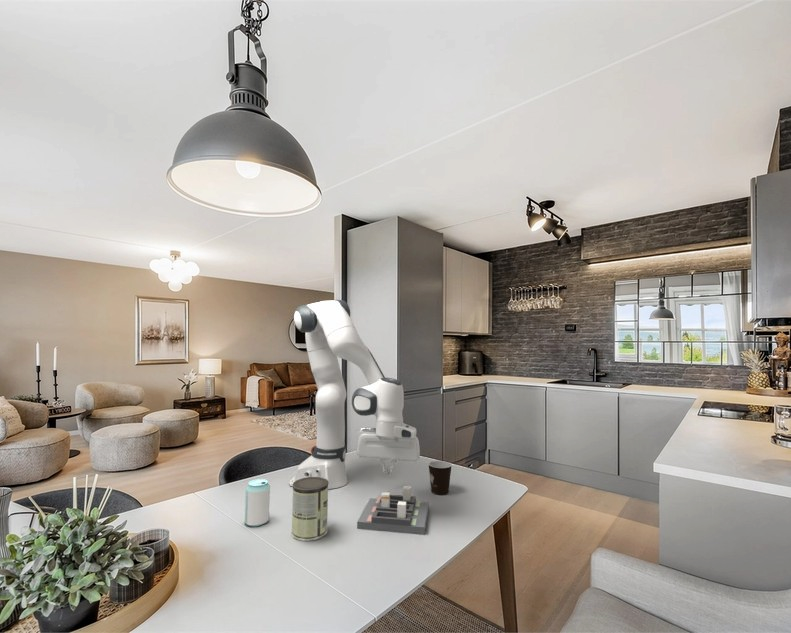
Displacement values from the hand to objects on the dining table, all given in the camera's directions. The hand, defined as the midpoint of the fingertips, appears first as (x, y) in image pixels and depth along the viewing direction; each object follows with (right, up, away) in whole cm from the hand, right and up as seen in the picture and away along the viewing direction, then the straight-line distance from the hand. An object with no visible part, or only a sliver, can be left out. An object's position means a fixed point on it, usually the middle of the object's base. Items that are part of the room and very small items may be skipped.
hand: (387, 472), depth 125 cm
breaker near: (+4, -11, -8) cm, 14 cm away
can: (-40, -13, -6) cm, 42 cm away
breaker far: (+6, -12, +4) cm, 14 cm away
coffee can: (-22, -13, -12) cm, 28 cm away
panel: (+2, -14, -2) cm, 14 cm away
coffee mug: (+19, -16, +22) cm, 33 cm away
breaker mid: (-1, -11, -1) cm, 11 cm away
